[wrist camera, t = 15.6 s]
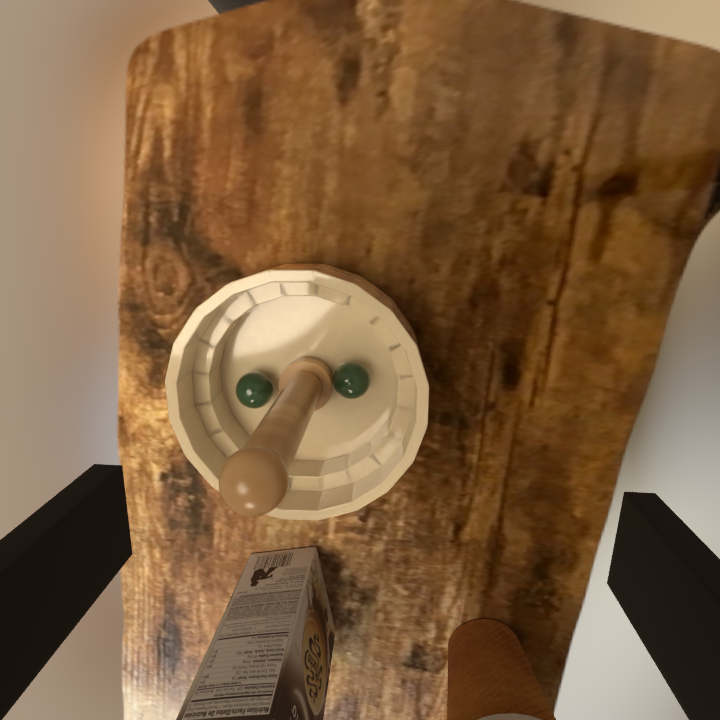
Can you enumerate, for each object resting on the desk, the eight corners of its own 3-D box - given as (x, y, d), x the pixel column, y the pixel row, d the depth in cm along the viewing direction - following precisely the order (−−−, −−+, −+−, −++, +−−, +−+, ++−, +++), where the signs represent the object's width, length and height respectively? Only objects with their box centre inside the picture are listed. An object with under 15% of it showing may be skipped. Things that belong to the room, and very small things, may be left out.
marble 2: (357, 358, 38) (330, 354, 36) (382, 369, 36) (355, 366, 34) (347, 392, 39) (320, 390, 37) (372, 405, 37) (344, 403, 35)
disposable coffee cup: (418, 614, 44) (427, 753, 32) (525, 593, 42) (575, 730, 31) (444, 697, 46) (462, 855, 34) (547, 679, 45) (602, 837, 33)
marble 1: (234, 364, 37) (240, 385, 35) (271, 364, 38) (279, 384, 36) (231, 395, 38) (237, 417, 36) (267, 394, 39) (274, 415, 37)
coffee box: (338, 630, 45) (310, 845, 29) (270, 637, 45) (206, 851, 30) (318, 543, 42) (276, 726, 27) (246, 552, 43) (165, 735, 28)
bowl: (190, 262, 37) (152, 269, 31) (426, 263, 36) (433, 270, 30) (208, 475, 41) (179, 515, 36) (419, 482, 40) (424, 524, 35)
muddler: (281, 355, 38) (195, 455, 21) (334, 356, 37) (288, 458, 21) (284, 404, 39) (203, 537, 22) (334, 405, 38) (291, 540, 22)
